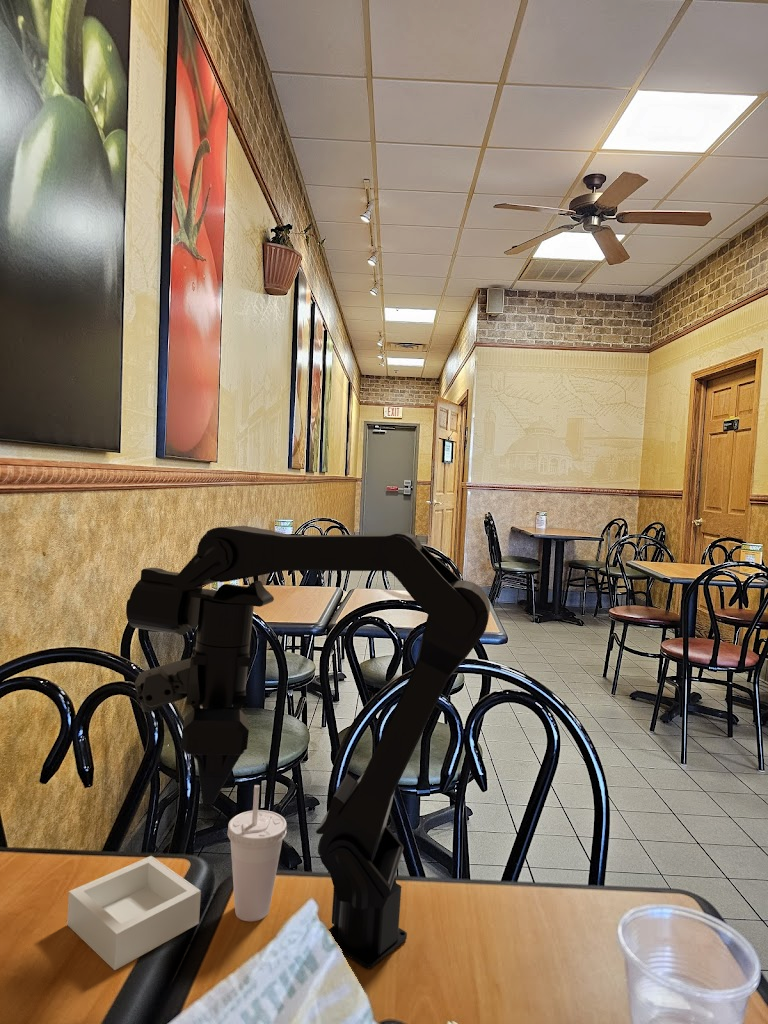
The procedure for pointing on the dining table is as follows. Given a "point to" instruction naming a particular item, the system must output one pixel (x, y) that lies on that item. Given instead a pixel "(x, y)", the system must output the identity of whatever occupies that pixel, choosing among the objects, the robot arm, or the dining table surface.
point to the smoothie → (255, 859)
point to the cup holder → (133, 910)
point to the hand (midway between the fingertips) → (209, 782)
